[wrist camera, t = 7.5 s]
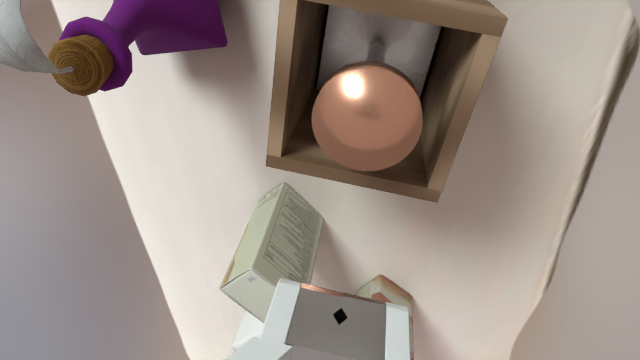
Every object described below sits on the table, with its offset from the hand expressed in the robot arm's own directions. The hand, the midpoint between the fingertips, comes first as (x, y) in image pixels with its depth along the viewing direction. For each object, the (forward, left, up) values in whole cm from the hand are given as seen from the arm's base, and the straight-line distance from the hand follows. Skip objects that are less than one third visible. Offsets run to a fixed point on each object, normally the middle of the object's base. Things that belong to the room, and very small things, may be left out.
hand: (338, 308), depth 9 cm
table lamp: (0, 0, -24) cm, 24 cm away
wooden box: (0, 0, -27) cm, 27 cm away
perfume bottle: (0, -16, -27) cm, 32 cm away
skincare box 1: (+19, -5, -27) cm, 34 cm away
